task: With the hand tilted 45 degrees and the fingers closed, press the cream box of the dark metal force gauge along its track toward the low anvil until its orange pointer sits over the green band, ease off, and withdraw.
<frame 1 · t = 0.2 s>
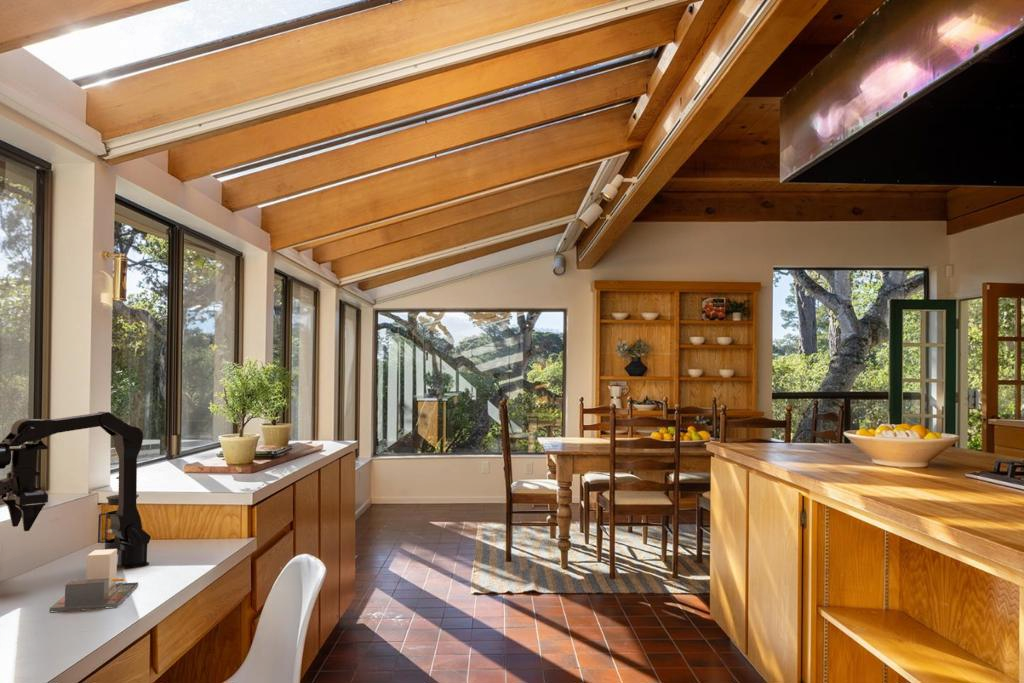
hand: (20, 528, 182), 15 cm above the table, tool pointing down, fingers open, 9 cm apart
gauge base: (96, 598, 170), on the table
french press: (119, 551, 220), on the table
cream box: (101, 570, 174), point 6 cm above the table, slide at 0.0 cm
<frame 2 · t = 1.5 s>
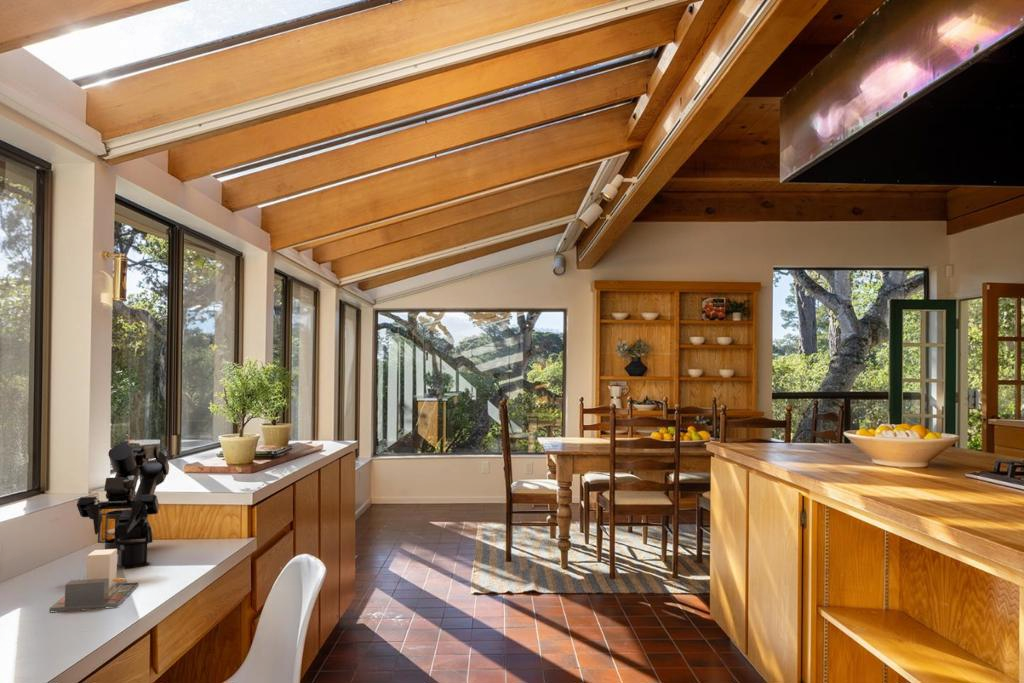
hand: (111, 532, 182), 13 cm above the table, tool tilted 45°, fingers open, 7 cm apart
nothing on the table moved.
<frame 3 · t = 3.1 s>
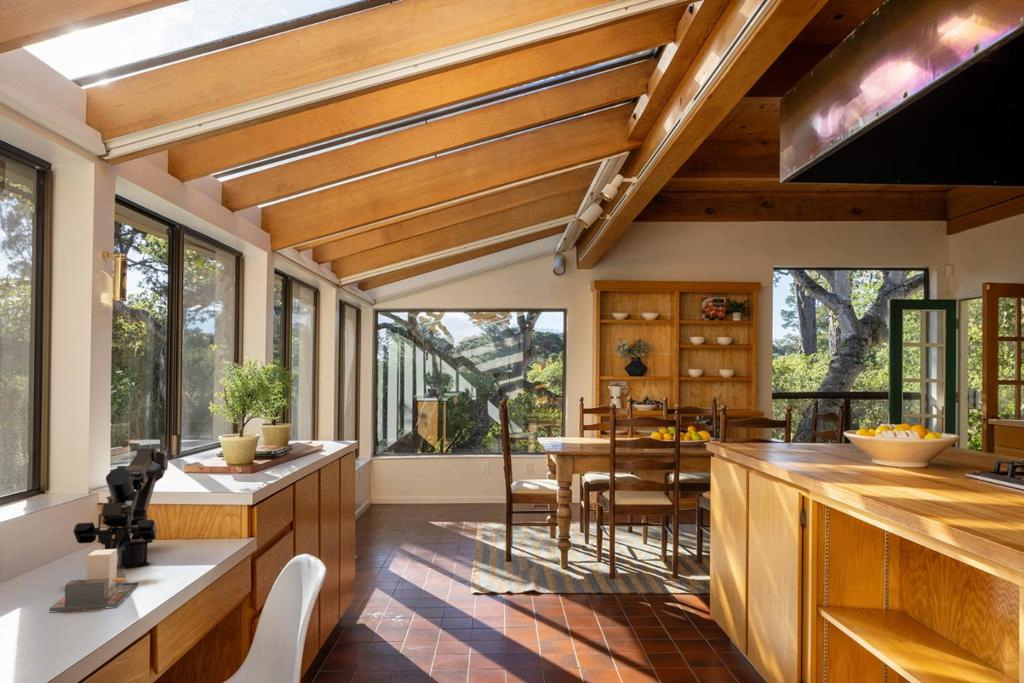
hand: (108, 559, 180), 7 cm above the table, tool tilted 45°, fingers closed
nothing on the table moved.
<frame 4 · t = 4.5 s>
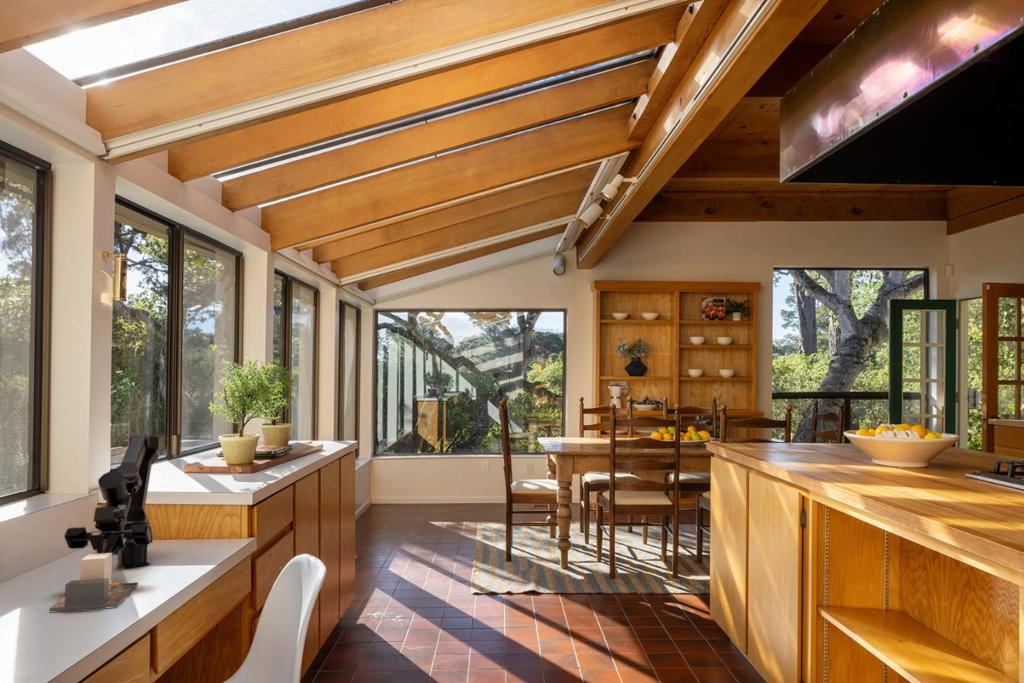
hand: (100, 565, 173), 7 cm above the table, tool tilted 45°, fingers closed
cream box: (96, 575, 170), point 6 cm above the table, slide at 4.3 cm, touching gripper
everything else where it was.
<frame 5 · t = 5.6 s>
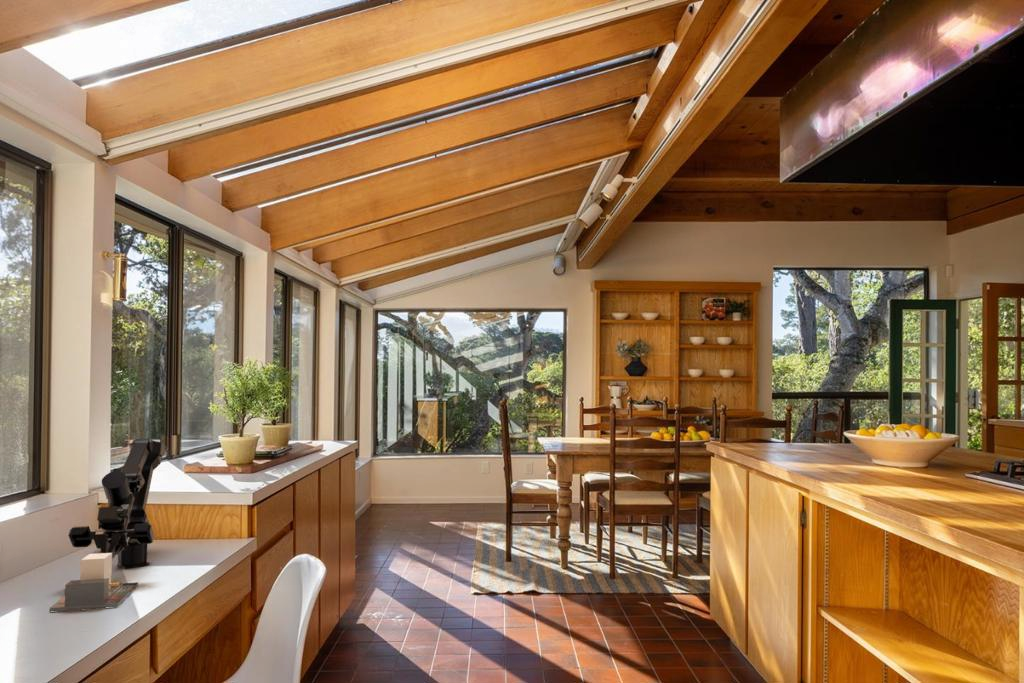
hand: (104, 564, 176), 7 cm above the table, tool tilted 45°, fingers closed
cream box: (96, 575, 170), point 6 cm above the table, slide at 4.4 cm
everything else where it was.
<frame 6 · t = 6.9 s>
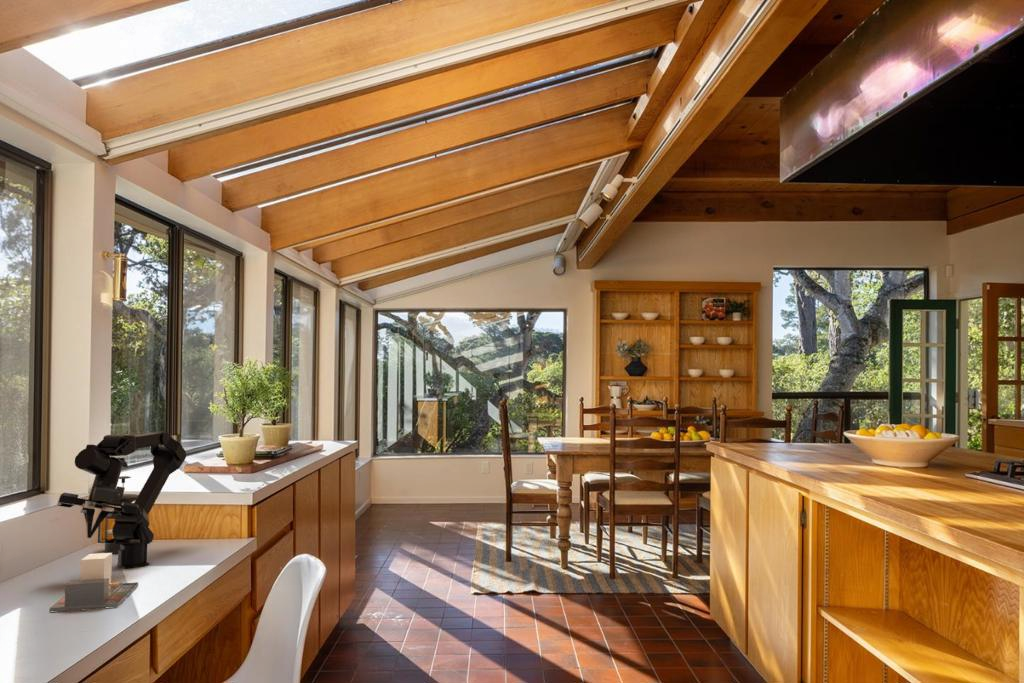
hand: (88, 537, 185), 12 cm above the table, tool tilted 20°, fingers closed
nothing on the table moved.
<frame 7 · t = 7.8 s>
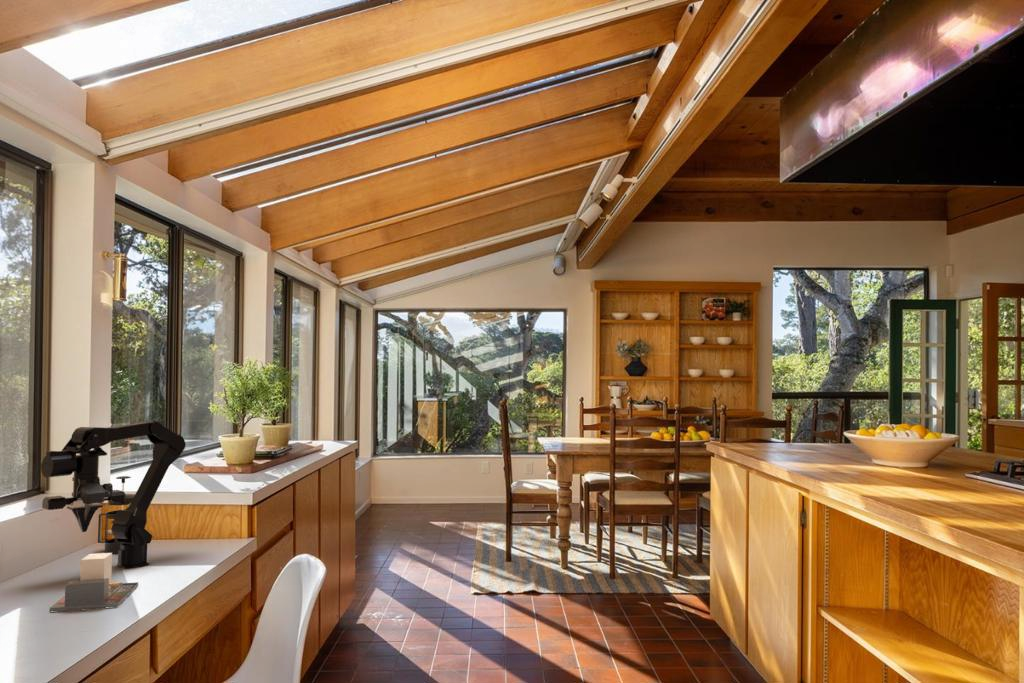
hand: (83, 531, 191), 12 cm above the table, tool pointing down, fingers closed
nothing on the table moved.
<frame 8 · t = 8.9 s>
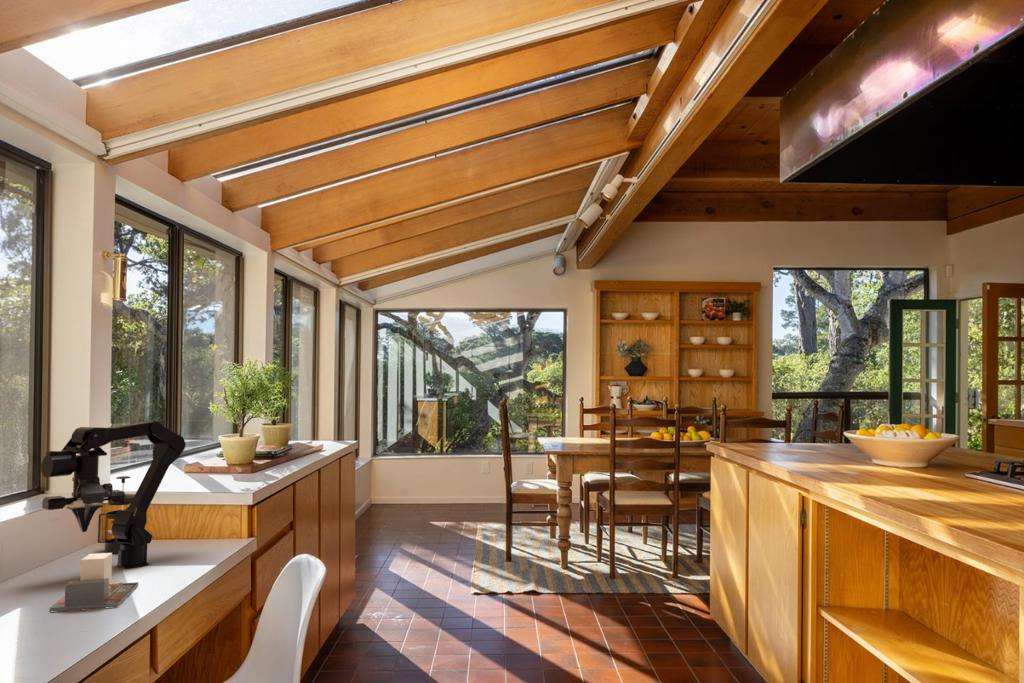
hand: (83, 531, 191), 12 cm above the table, tool pointing down, fingers closed
nothing on the table moved.
at the end: cream box slide at 4.4 cm; the gripper is holding nothing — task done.
